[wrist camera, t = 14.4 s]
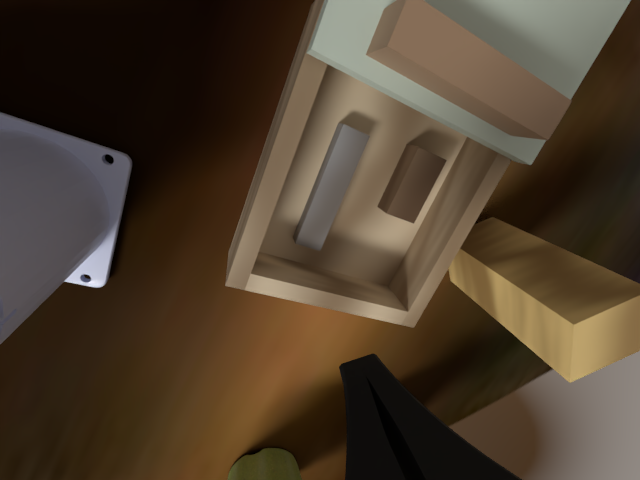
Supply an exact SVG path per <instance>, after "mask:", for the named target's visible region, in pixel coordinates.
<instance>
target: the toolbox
mask: <svg viewBox="0 0 640 480" xmlns="http://www.w3.org/2000/svg"><path fill="white" fill-rule="evenodd" d="M323 3H324V0H315V1H314V2H313V4H312V5H311V8H310V11H309V14H308V17H307V20H306V23H305V26H304V29H303V32H302V35H301V38H300V41H299V44H298V47H297V50H296V53H295V56H294V59H293V62H292V65H291V68H290V71H289V74H288V77H287V80H286V83H285V86H284V89H283V92H282V95H281V98H280V101H279V104H278V107H277V110H276V113H275V116H274V119H273V122H272V125H271V127H270V130H269V133H268V136H267V139H266V142H265V145H264V148H263V151H262V154H261V157H260V160H259V163H258V166H257V169H256V172H255V175H254V178H253V181H252V184H251V187H250V190H249V193H248V196H247V199H246V202H245V205H244V208H243V211H242V214H241V217H240V220H239V223H238V226H237V229H236V232H235V235H234V238H233V241H232V244H231V247H230V250H229V254H228V264H227V274H226V283H225V286H229V287H233V288H238V289H242V290H247V291H251V292H256V293H260V294H265V295H269V296H274V297H278V298H283V299H287V300H292V301H296V302H301V303H305V304H310V305H314V306H319V307H323V308H328V309H332V310H337V311H341V312H346V313H350V314H355V315H359V316H364V317H368V318H373V319H377V320H382V321H386V322H391V323H395V324H400V325H404V326H409V327H413V328H414V326H415V325H416V323H417V321H418V319H419V318H420V316H421V314H422V313H423V311H424V309H425V307H426V306H427V304H428V302H429V301H430V299H431V297H432V295H433V294H434V292H435V290H436V289H437V287H438V285H439V283H440V282H441V280H442V278H443V277H444V275H445V273H446V271H447V270H448V268H449V266H450V265H451V263H452V261H453V259H454V258H455V256H456V254H457V253H458V251H459V249H460V247H461V246H462V244H463V242H464V241H465V239H466V237H467V235H468V234H469V232H470V230H471V229H472V227H473V225H474V223H475V222H476V220H477V218H478V217H479V215H480V213H481V211H482V210H483V208H484V206H485V205H486V203H487V201H488V199H489V198H490V196H491V194H492V193H493V191H494V189H495V187H496V186H497V184H498V182H499V181H500V179H501V177H502V175H503V174H504V172H505V170H506V169H507V167H508V165H509V163H510V162H511V159H509V158H507V157H505V156H503V155H501V154H500V153H498V152H496V151H494V150H492V149H490V148H488V147H486V146H484V145H482V144H480V143H478V142H476V141H475V140H473V139H471V138H469V137H467V136H465V135H463V134H461V133H459V132H457V131H455V130H453V129H451V128H450V127H448V126H446V125H444V124H442V123H440V122H438V121H436V120H434V119H432V118H430V117H428V116H426V115H425V114H423V113H421V112H419V111H417V110H415V109H413V108H411V107H409V106H407V105H405V104H403V103H401V102H400V101H398V100H396V99H394V98H392V97H390V96H388V95H386V94H384V93H382V92H380V91H378V90H376V89H375V88H373V87H371V86H369V85H367V84H365V83H363V82H361V81H359V80H357V79H355V78H353V77H352V76H350V75H348V74H346V73H344V72H342V71H340V70H338V69H336V68H334V67H332V66H330V65H328V64H327V63H325V62H323V61H321V60H319V59H317V58H315V57H313V56H311V55H309V54H307V50H308V47H309V44H310V41H311V38H312V35H313V32H314V29H315V26H316V24H317V21H318V18H319V15H320V12H321V9H322V6H323Z"/></svg>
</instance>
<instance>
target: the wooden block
mask: <svg viewBox="0 0 640 480" xmlns="http://www.w3.org/2000/svg"><path fill="white" fill-rule="evenodd" d="M449 274H450V280H451V281H452V282H453V283H454V284H455V285H456V286H458V287H459V288H460V289H461V290H462V291H463V292H465V293H466V294H467V295H468V296H469V297H470V298H472V299H473V300H474V301H475V302H476V303H477V304H478V305H480V306H481V307H482V308H483V309H484V310H485V311H487V312H488V313H489V314H490V315H491V316H492V317H494V318H495V319H496V320H497V321H498V322H499V323H501V324H502V325H503V326H504V327H505V328H506V329H508V330H509V331H510V332H511V333H512V334H513V335H515V336H516V337H517V338H518V339H519V340H520V341H522V342H523V343H524V344H525V345H526V346H527V347H529V348H530V349H531V350H532V351H533V352H534V353H536V354H537V355H538V356H539V357H540V358H541V359H543V360H544V361H545V362H546V363H547V364H548V365H550V366H551V367H552V368H553V369H554V370H555V371H557V372H558V373H559V374H560V375H561V376H562V377H564V378H565V379H566V380H567V381H568V382H569V383H571V382H573V381H575V380H577V379H579V378H581V377H583V376H586V375H588V374H590V373H592V372H594V371H597V370H599V369H601V368H603V367H605V366H607V365H610V364H612V363H614V362H616V361H618V360H621V359H623V358H625V357H627V356H629V355H631V354H633V353H636V352H638V351H639V350H640V284H639V283H636V282H634V281H632V280H630V279H628V278H625V277H623V276H621V275H619V274H617V273H614V272H612V271H610V270H608V269H606V268H604V267H601V266H599V265H597V264H595V263H593V262H590V261H588V260H586V259H584V258H582V257H579V256H577V255H575V254H573V253H571V252H569V251H566V250H564V249H562V248H560V247H558V246H555V245H553V244H551V243H549V242H547V241H544V240H542V239H540V238H538V237H536V236H534V235H531V234H529V233H527V232H525V231H523V230H520V229H518V228H516V227H514V226H512V225H509V224H507V223H505V222H503V221H501V220H499V219H496V218H494V217H491V218H489V219H486V220H484V221H481V222H479V223H477V224H474V225H473V227H472V229H471V230H470V232H469V234H468V235H467V237H466V239H465V241H464V242H463V244H462V246H461V247H460V249H459V251H458V253H457V254H456V256H455V258H454V259H453V261H452V263H451V265H450V266H449Z"/></svg>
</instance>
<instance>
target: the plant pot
mask: <svg viewBox="0 0 640 480" xmlns="http://www.w3.org/2000/svg"><path fill="white" fill-rule="evenodd" d="M228 480H302V479H301V475H300V471H299V468H298V465H297V462H296V460H295V458H294V456H293V455H292V454H291V453H290V452H288V451H286V450H284V449H279V448H265V449H262V450H261V451H260V452H258V453H256V454H253V455H245V456H243V457H242V458H240V459H239V460H238V461H237V462H236V463H235V464H234V465H233V466H232V468H231V470H230V472H229V475H228Z"/></svg>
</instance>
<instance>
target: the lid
mask: <svg viewBox="0 0 640 480" xmlns="http://www.w3.org/2000/svg"><path fill="white" fill-rule="evenodd" d="M630 1H631V0H324V3H323V6H322V9H321V12H320V15H319V18H318V21H317V24H316V26H315V29H314V32H313V35H312V38H311V41H310V44H309V47H308V50H307V54H309V55H311V56H313V57H315V58H317V59H319V60H321V61H323V62H325V63H327V64H328V65H330V66H332V67H334V68H336V69H338V70H340V71H342V72H344V73H346V74H348V75H350V76H352V77H353V78H355V79H357V80H359V81H361V82H363V83H365V84H367V85H369V86H371V87H373V88H375V89H376V90H378V91H380V92H382V93H384V94H386V95H388V96H390V97H392V98H394V99H396V100H398V101H400V102H401V103H403V104H405V105H407V106H409V107H411V108H413V109H415V110H417V111H419V112H421V113H423V114H425V115H426V116H428V117H430V118H432V119H434V120H436V121H438V122H440V123H442V124H444V125H446V126H448V127H450V128H451V129H453V130H455V131H457V132H459V133H461V134H463V135H465V136H467V137H469V138H471V139H473V140H475V141H476V142H478V143H480V144H482V145H484V146H486V147H488V148H490V149H492V150H494V151H496V152H498V153H500V154H501V155H503V156H505V157H507V158H509V159H511V160H513V161H515V162H519V163H524V164H528V165H531V164H532V163H533V161H534V160H535V158H536V156H537V155H538V153H539V151H540V150H541V148H542V146H543V145H544V143H545V141H546V140H549V138H550V137H551V135H552V133H553V132H554V130H555V128H556V127H557V125H558V124H559V122H560V120H561V119H562V117H563V115H564V114H565V112H566V110H567V109H568V107H569V105H570V104H571V102H572V101H571V98H572V97H573V95H574V93H575V92H576V90H577V89H578V87H579V85H580V84H581V82H582V80H583V79H584V77H585V75H586V74H587V72H588V70H589V69H590V67H591V65H592V64H593V62H594V60H595V59H596V57H597V55H598V54H599V52H600V51H601V49H602V47H603V46H604V44H605V42H606V41H607V39H608V37H609V36H610V34H611V32H612V31H613V29H614V27H615V26H616V24H617V22H618V21H619V19H620V18H621V16H622V14H623V13H624V11H625V9H626V8H627V6H628V4H629V3H630Z"/></svg>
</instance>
